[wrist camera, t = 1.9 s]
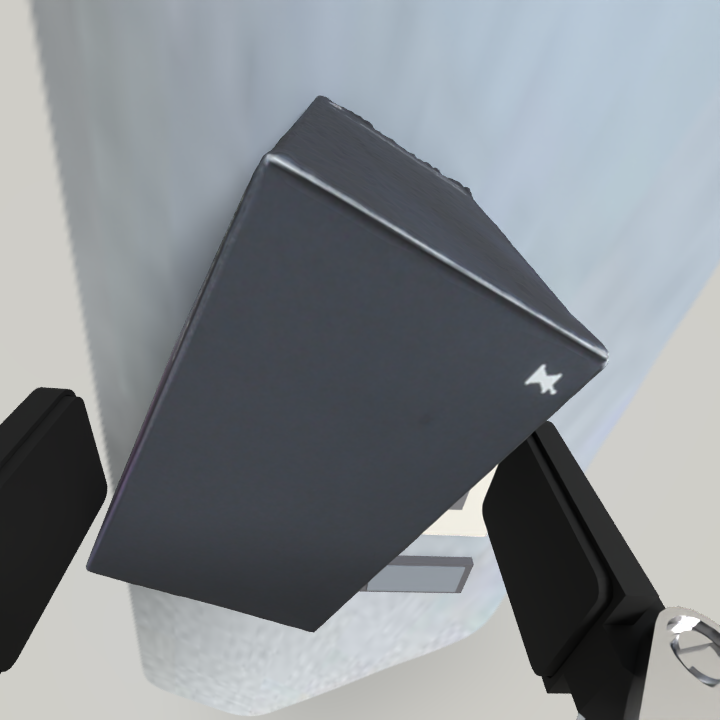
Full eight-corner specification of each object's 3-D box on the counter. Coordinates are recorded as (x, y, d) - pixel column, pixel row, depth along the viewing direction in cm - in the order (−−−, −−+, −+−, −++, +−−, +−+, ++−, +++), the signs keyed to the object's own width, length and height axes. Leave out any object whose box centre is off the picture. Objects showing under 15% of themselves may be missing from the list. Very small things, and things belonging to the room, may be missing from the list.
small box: (307, 79, 13) (248, 115, 5) (474, 190, 15) (643, 357, 7) (194, 337, 18) (63, 583, 10) (331, 395, 20) (323, 642, 12)
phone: (363, 547, 28) (364, 563, 27) (469, 550, 29) (473, 566, 28) (358, 576, 30) (358, 592, 29) (457, 578, 31) (461, 594, 30)
